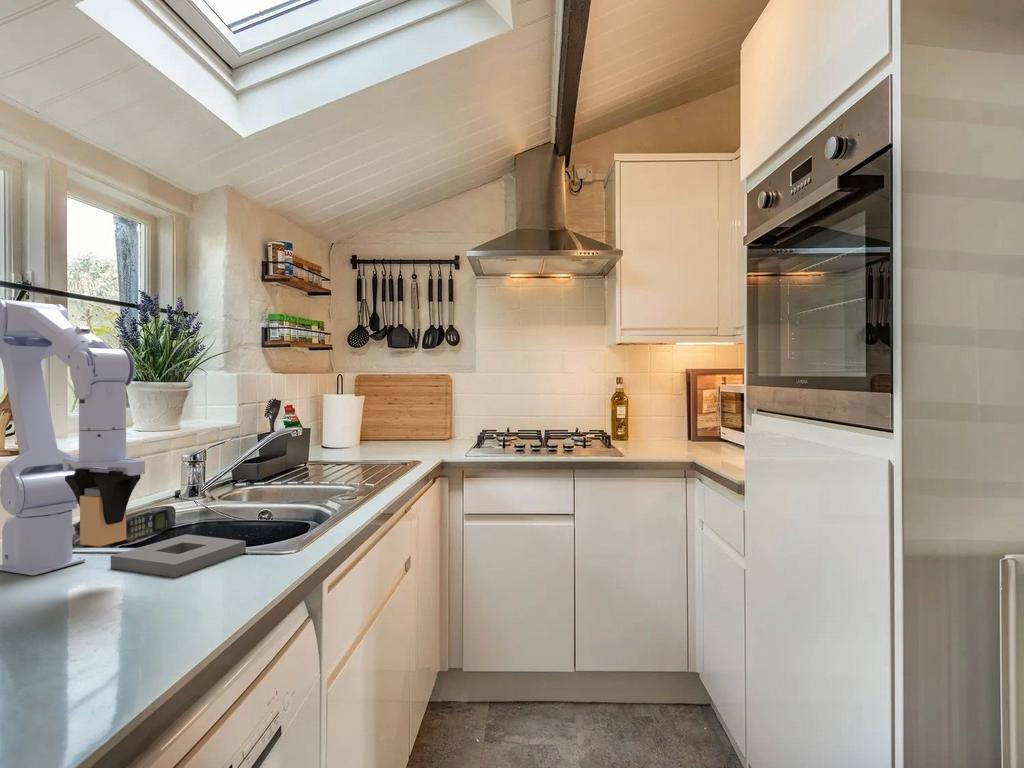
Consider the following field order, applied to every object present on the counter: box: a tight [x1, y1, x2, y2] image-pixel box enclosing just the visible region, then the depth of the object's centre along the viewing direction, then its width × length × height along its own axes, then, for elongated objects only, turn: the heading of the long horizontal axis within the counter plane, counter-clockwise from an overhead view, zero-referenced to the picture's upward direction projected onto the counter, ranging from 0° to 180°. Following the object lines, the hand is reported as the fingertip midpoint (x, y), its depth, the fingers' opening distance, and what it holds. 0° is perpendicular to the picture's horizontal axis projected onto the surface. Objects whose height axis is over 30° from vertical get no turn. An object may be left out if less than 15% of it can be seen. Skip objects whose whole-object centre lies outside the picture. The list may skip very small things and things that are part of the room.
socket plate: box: [110, 534, 247, 578], centre depth 98 cm, size 14×14×2 cm
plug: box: [79, 487, 127, 548], centre depth 85 cm, size 4×4×8 cm
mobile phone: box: [114, 505, 177, 545], centre depth 115 cm, size 5×3×15 cm
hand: (103, 521), depth 85 cm, fingers closed on plug, 4 cm apart
